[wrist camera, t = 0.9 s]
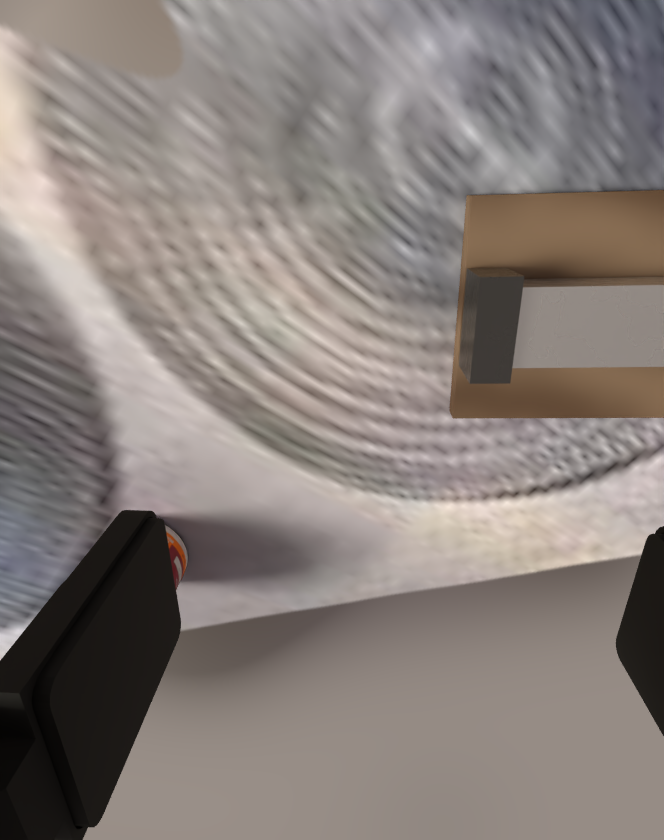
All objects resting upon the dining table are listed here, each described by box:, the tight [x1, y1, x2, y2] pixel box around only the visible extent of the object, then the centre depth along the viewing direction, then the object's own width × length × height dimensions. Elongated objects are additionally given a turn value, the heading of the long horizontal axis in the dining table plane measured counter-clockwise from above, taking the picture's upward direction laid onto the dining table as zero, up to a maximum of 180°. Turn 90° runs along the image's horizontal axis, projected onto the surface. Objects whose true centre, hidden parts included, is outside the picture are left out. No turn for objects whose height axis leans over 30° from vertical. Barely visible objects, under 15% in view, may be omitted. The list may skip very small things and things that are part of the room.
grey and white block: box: [459, 268, 664, 384], centre depth 25 cm, size 5×13×3 cm, turn 91°
